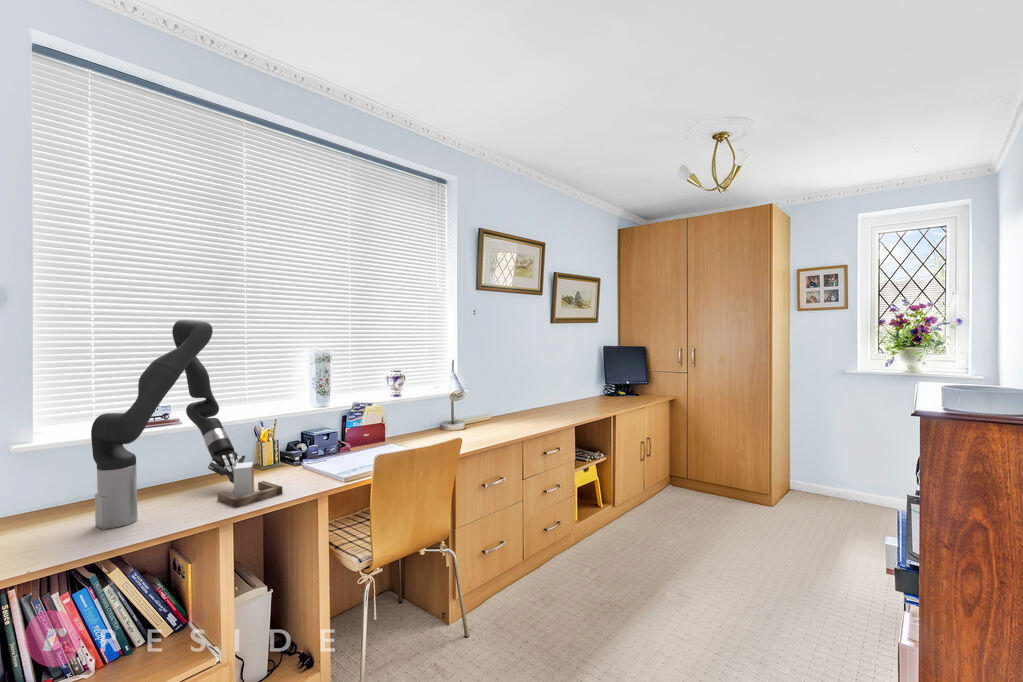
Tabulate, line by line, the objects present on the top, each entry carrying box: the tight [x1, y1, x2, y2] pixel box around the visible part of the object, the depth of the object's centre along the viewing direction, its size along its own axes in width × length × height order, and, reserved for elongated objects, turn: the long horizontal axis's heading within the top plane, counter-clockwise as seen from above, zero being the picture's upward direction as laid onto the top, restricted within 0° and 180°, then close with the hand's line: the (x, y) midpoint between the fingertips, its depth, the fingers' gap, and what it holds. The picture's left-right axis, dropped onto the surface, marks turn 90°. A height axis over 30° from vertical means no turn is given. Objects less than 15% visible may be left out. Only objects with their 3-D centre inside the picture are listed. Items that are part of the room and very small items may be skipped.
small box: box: [233, 461, 255, 497], centre depth 170 cm, size 8×6×10 cm
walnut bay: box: [217, 480, 283, 508], centre depth 168 cm, size 16×12×2 cm
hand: (236, 481), depth 173 cm, fingers closed
